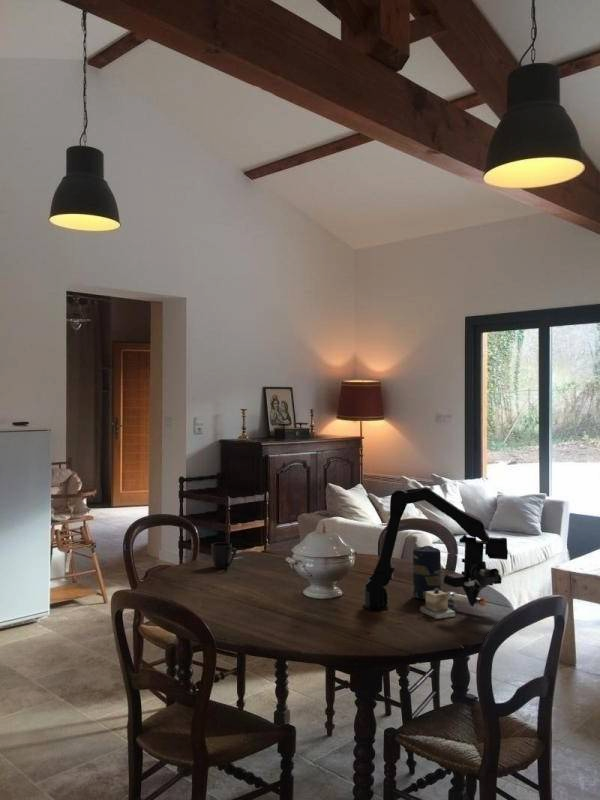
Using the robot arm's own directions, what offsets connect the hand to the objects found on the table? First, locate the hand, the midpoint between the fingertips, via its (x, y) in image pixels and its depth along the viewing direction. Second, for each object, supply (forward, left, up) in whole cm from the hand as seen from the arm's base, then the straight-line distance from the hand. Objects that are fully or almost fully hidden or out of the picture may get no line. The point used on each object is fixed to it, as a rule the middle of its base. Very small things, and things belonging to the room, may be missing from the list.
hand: (471, 606), depth 224 cm
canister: (-3, +21, -3) cm, 22 cm away
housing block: (-10, +5, -1) cm, 11 cm away
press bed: (-10, +5, -3) cm, 11 cm away
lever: (+1, +4, 0) cm, 4 cm away
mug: (-54, +90, -3) cm, 105 cm away
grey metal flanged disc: (-2, +9, -3) cm, 9 cm away
